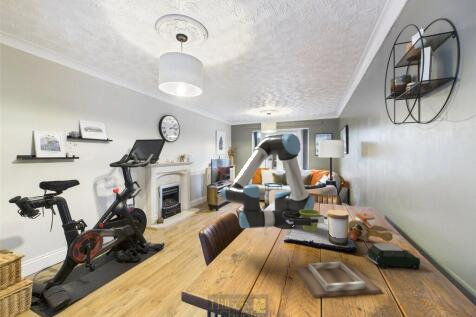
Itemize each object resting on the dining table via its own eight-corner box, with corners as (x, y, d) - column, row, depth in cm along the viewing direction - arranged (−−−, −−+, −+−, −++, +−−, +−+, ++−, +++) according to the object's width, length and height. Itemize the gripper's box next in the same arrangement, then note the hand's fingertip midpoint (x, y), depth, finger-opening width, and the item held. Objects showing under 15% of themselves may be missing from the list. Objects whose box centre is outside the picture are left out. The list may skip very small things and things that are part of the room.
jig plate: (313, 297, 65) (313, 288, 65) (295, 270, 81) (295, 262, 81) (381, 292, 67) (381, 283, 67) (350, 266, 83) (350, 259, 83)
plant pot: (298, 232, 91) (298, 213, 90) (300, 225, 99) (300, 208, 99) (320, 235, 87) (320, 215, 87) (320, 227, 96) (320, 210, 96)
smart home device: (322, 214, 153) (338, 223, 134) (322, 216, 153) (338, 225, 134) (312, 215, 152) (326, 223, 133) (312, 217, 152) (327, 226, 133)
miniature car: (423, 270, 80) (423, 251, 80) (376, 268, 81) (376, 249, 81) (406, 259, 89) (406, 241, 89) (364, 257, 90) (364, 240, 90)
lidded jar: (375, 231, 121) (375, 216, 121) (355, 228, 127) (354, 213, 127) (374, 226, 130) (374, 212, 130) (355, 223, 136) (355, 210, 136)
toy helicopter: (351, 234, 117) (351, 211, 117) (394, 246, 101) (394, 220, 100) (345, 238, 112) (345, 214, 112) (390, 251, 95) (389, 223, 95)
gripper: (267, 219, 102) (309, 217, 104) (279, 235, 81) (331, 233, 83) (267, 205, 102) (309, 203, 104) (278, 217, 81) (331, 215, 83)
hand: (319, 216), depth 93 cm, fingers closed on plant pot, 8 cm apart
